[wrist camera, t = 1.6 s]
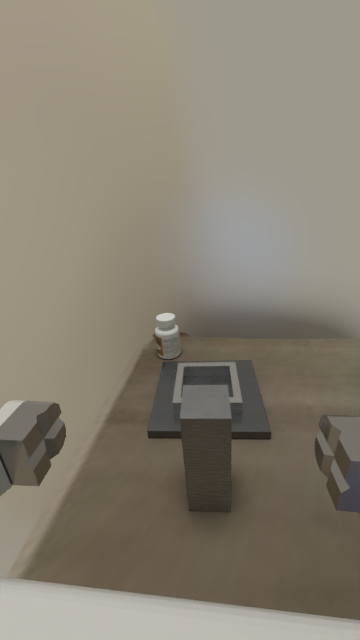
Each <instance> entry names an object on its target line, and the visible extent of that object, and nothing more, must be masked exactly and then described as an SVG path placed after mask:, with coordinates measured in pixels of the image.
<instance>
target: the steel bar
mask: <svg viewBox="0 0 360 640" xmlns="http://www.w3.org/2000/svg"><path fill="white" fill-rule="evenodd" d="M180 426H181V436H182V446H183V456H184V466H185V477H186V487H187V497H188V507H189V511H214V512H231V432H232V417H231V409H230V401H229V393H228V385H183V391H182V401H181V411H180Z"/></svg>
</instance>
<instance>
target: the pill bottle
mask: <svg viewBox="0 0 360 640" xmlns="http://www.w3.org/2000/svg"><path fill="white" fill-rule="evenodd" d="M156 323H157V327H156V329H155V337H156V344H157V351H158V355H159V357H161V358H163V359H173V358H176V357H178V356H179V355H180V353H181V348H180V337H179V328H178V326H177V325H175V324H176V320H175V315H174V314H171V313H163V314H160V315H158V316H157V317H156Z"/></svg>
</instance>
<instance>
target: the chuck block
mask: <svg viewBox="0 0 360 640" xmlns="http://www.w3.org/2000/svg"><path fill="white" fill-rule="evenodd" d="M183 385H228V393H229V401H230V409H231V417H232V432H231V439H270V438H271V430H270V426H269V423H268V419H267V415H266V412H265V408H264V404H263V401H262V397H261V394H260V390H259V386H258V383H257V379H256V375H255V372H254V368H253V364H252V361H251V360H239V361H184V362H163V364H162V369H161V373H160V378H159V382H158V386H157V391H156V395H155V400H154V404H153V409H152V413H151V417H150V422H149V426H148V431H147V432H148V437H149V438H182V436H181V426H180V411H181V401H182V391H183Z"/></svg>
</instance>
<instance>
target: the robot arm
mask: <svg viewBox="0 0 360 640" xmlns="http://www.w3.org/2000/svg"><path fill="white" fill-rule="evenodd" d="M60 414H61V410H60V407H59V404H56V403H51V402H50V403H49V402H37V401H18V400H12V401H10V402H7V403H6V404H5V405H4V406H3V407H2V408H1V409H0V496H1V495H2V494H3V493H5V492H6V491H7V490H8V489H10V488H11V487H12V485H23V486H24V485H25V486H39V485H40V483H41V482H42V480H43V479H44V477H45V475H46V474H47V472H48V470H49V469H50V467H51V462H50V459H52V458H53V457H54V456H56V455H57V454H59V451H60V450H61V448H62V447H63V444H64V441H65V437H66V428H65V424H64V422H63V421H61V420H60V419H59V418H58V417H59V415H60ZM319 426H320V429H321V431H322V432H321V433H320V434H319V435H317V436H316V441H315V455H316V459H317V463H318V466H319V468H320V471H321V472H322V473H323V474H325V475H326V476H327V477H328V481H327V485H326V486H327V489H328V491H329V494H330V496H331V499H332V501H333V503H334V506H335V508H336V510H339V511H349V512H358V513H360V416H350V415H322V416H321V418H320V422H319ZM0 640H360V620H353V619H345V618H337V617H329V616H321V615H312V614H304V613H296V612H288V611H280V610H271V609H263V608H255V607H247V606H239V605H230V604H222V603H214V602H206V601H197V600H189V599H181V598H173V597H165V596H156V595H148V594H140V593H132V592H124V591H115V590H107V589H99V588H91V587H82V586H74V585H66V584H58V583H49V582H41V581H33V580H25V579H16V578H8V577H0Z"/></svg>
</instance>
